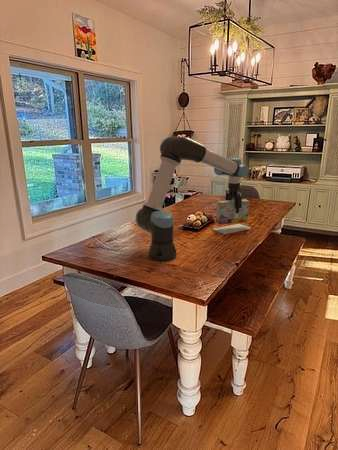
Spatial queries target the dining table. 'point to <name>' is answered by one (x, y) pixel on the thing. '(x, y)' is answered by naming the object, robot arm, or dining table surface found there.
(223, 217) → the snack box
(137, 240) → the dining table surface
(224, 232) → the rest mat
